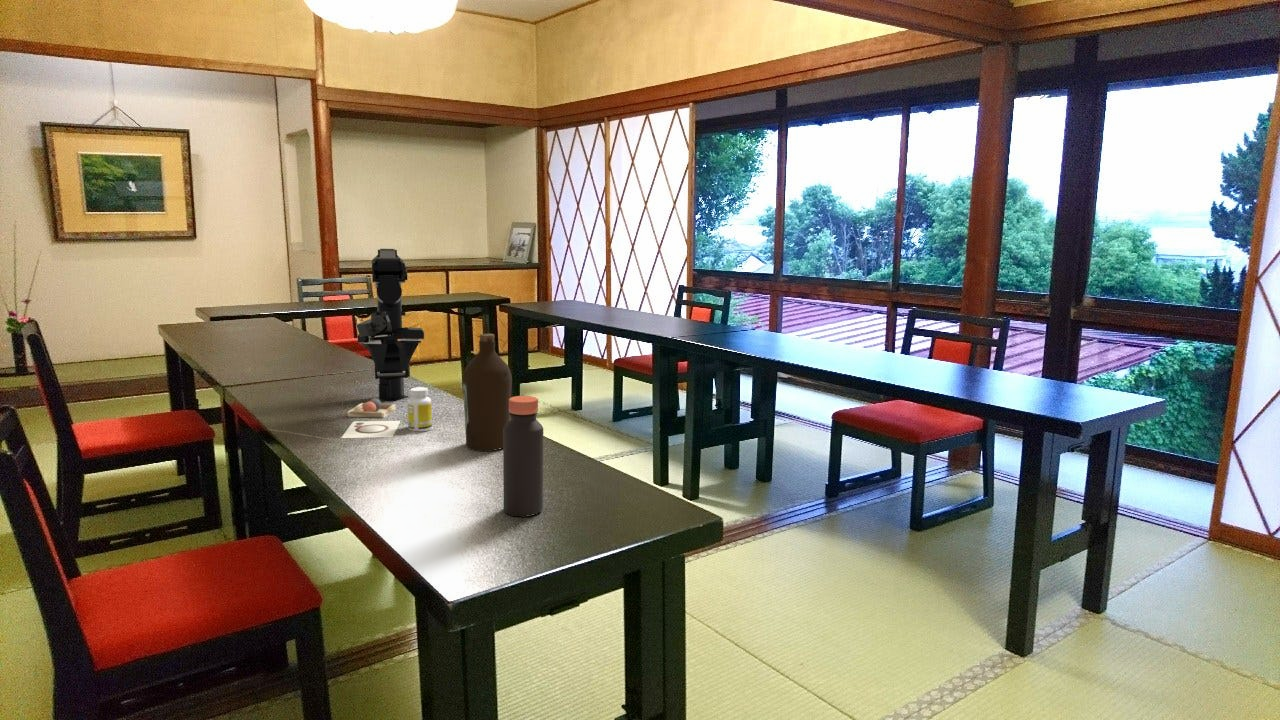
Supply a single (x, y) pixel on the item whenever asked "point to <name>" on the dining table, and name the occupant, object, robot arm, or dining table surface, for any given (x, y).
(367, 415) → the masu tray
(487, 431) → the brown rum bottle
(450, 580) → the dining table surface
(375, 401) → the grey ball
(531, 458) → the vinegar
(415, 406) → the supplement bottle
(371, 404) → the red ball
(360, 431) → the card
